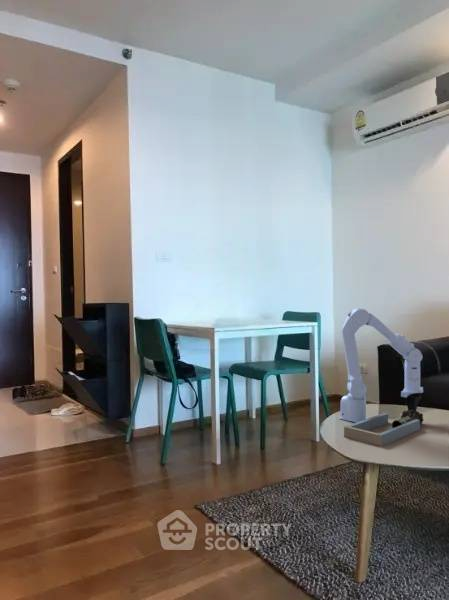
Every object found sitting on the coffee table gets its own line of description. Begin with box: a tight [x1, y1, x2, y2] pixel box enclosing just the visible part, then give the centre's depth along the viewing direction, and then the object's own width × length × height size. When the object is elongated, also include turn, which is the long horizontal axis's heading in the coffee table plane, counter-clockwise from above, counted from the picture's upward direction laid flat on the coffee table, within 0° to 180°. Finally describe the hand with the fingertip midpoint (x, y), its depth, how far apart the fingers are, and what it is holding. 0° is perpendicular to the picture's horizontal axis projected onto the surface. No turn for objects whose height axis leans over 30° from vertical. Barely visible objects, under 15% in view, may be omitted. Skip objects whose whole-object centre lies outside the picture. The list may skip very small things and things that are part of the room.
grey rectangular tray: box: [343, 412, 421, 447], centre depth 169 cm, size 14×28×4 cm, turn 133°
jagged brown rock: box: [391, 409, 424, 429], centre depth 177 cm, size 18×7×6 cm, turn 132°
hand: (412, 412), depth 184 cm, fingers closed
